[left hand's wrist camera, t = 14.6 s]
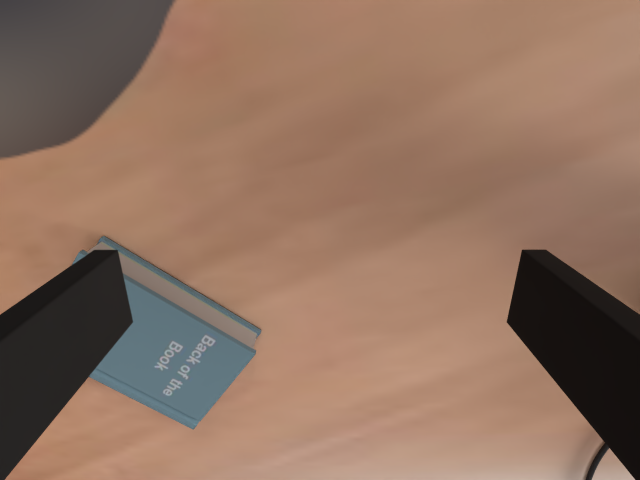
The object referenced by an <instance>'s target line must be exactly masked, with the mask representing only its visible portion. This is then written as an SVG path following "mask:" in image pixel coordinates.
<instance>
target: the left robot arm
mask: <svg viewBox="0 0 640 480" xmlns="http://www.w3.org/2000/svg"><path fill="white" fill-rule="evenodd" d="M132 323H133V319H132V314H131V309H130V305H129V300H128V295H127V291H126V286H125V281H124V276H123V272H122V267H121V262H120V258H119V253H118V250H93V251H92V252H90V253H89V254H87V255H86V256H85V257H83V258H82V259H80V260H79V261H77V262H76V263H74V264H73V265H72V266H70V267H69V268H67V269H66V270H64V271H63V272H61V273H60V274H59V275H57V276H56V277H54V278H53V279H51V280H50V281H48V282H47V283H46V284H44V285H43V286H41V287H40V288H38V289H37V290H35V291H34V292H33V293H31V294H30V295H28V296H27V297H25V298H24V299H22V300H21V301H20V302H18V303H17V304H15V305H14V306H12V307H11V308H9V309H8V310H7V311H5V312H4V313H2V314H1V315H0V480H5V478H6V477H7V476H8V475H9V474H10V472H11V471H12V470H13V469H14V467H15V466H16V465H17V464H18V463H19V461H20V460H21V459H22V458H23V456H24V455H25V454H26V453H27V452H28V450H29V449H30V448H31V447H32V445H33V444H34V443H35V442H36V441H37V439H38V438H39V437H40V436H41V434H42V433H43V432H44V431H45V429H46V428H47V427H48V426H49V425H50V423H51V422H52V421H53V420H54V418H55V417H56V416H57V415H58V414H59V412H60V411H61V410H62V409H63V407H64V406H65V405H66V404H67V403H68V401H69V400H70V399H71V398H72V396H73V395H74V394H75V393H76V392H77V390H78V389H79V388H80V387H81V385H82V384H83V383H84V382H85V381H86V379H87V378H88V377H89V376H90V374H91V373H92V372H93V371H94V370H95V368H96V367H97V366H98V365H99V363H100V362H101V361H102V360H103V358H104V357H105V356H106V355H107V354H108V352H109V351H110V350H111V349H112V347H113V346H114V345H115V344H116V343H117V341H118V340H119V339H120V338H121V336H122V335H123V334H124V333H125V332H126V330H127V329H128V328H129V327H130V325H131V324H132ZM507 323H508V324H509V325H510V327H511V328H512V329H513V330H514V332H515V333H516V334H517V335H518V336H519V338H520V339H521V340H522V341H523V343H524V344H525V345H526V346H527V347H528V349H529V350H530V351H531V352H532V354H533V355H534V356H535V357H536V358H537V360H538V361H539V362H540V363H541V365H542V366H543V367H544V368H545V370H546V371H547V372H548V373H549V374H550V376H551V377H552V378H553V379H554V381H555V382H556V383H557V384H558V385H559V387H560V388H561V389H562V390H563V392H564V393H565V394H566V395H567V396H568V398H569V399H570V400H571V401H572V403H573V404H574V405H575V406H576V407H577V409H578V410H579V411H580V412H581V414H582V415H583V416H584V417H585V418H586V420H587V421H588V422H589V423H590V425H591V426H592V427H593V428H594V429H595V431H596V432H597V433H598V434H599V436H600V437H601V438H602V439H603V441H604V442H605V444H604V445H603V446H602V448H601V449H600V451H599V452H598V454H597V455H596V457H595V458H594V460H593V462H592V464H591V466H590V469H589V471H588V474H587V477H586V480H592V477H593V475H594V472H595V470H596V468H597V466H598V464H599V462H600V460H601V459H602V457H603V456H604V454H605V453H606V452H607V450H608V449H609V448H610V449H611V450H612V452H613V453H614V454H615V455H616V456H617V458H618V459H619V460H620V461H621V463H622V464H623V465H624V466H625V467H626V469H627V470H628V471H629V472H630V474H631V475H632V476H633V477H634V478H635V480H640V315H639V314H638V313H636V312H635V311H633V310H632V309H631V308H629V307H628V306H626V305H625V304H623V303H622V302H620V301H619V300H618V299H616V298H615V297H613V296H612V295H610V294H609V293H607V292H606V291H605V290H603V289H602V288H600V287H599V286H597V285H596V284H594V283H593V282H592V281H590V280H589V279H587V278H586V277H584V276H583V275H581V274H580V273H579V272H577V271H576V270H574V269H573V268H571V267H570V266H568V265H567V264H566V263H564V262H563V261H561V260H560V259H558V258H557V257H555V256H554V255H553V254H551V253H550V252H548V251H547V250H522V253H521V257H520V262H519V267H518V272H517V276H516V281H515V286H514V291H513V295H512V300H511V305H510V309H509V314H508V319H507Z"/></svg>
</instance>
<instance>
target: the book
mask: <svg viewBox="0 0 640 480" xmlns="http://www.w3.org/2000/svg"><path fill="white" fill-rule="evenodd" d="M93 250H118V253H119V258H120V262H121V267H122V272H123V276H124V281H125V286H126V291H127V295H128V300H129V305H130V309H131V314H132V319H133V323H132V324H131V325H130V327H129V328H128V329H127V330H126V332H125V333H124V334H123V335H122V336H121V338H120V339H119V340H118V341H117V343H116V344H115V345H114V346H113V347H112V349H111V350H110V351H109V352H108V354H107V355H106V356H105V357H104V358H103V360H102V361H101V362H100V363H99V365H98V366H97V367H96V368H95V370H94V371H93V372H92V373H91V374H90V376H89V377H91V378H93V379H94V380H96V381H98V382H100V383H102V384H104V385H106V386H108V387H110V388H112V389H114V390H116V391H118V392H120V393H122V394H124V395H126V396H128V397H130V398H132V399H134V400H136V401H138V402H140V403H142V404H144V405H146V406H148V407H150V408H152V409H154V410H156V411H158V412H160V413H162V414H164V415H166V416H168V417H170V418H171V419H173V420H175V421H177V422H179V423H181V424H183V425H185V426H187V427H189V428H191V429H194V428H195V427H196V426H197V424H198V422H199V421H201V420H202V418H203V417H204V416H205V415H206V414H207V412H208V411H209V410H210V409H211V408H212V406H213V405H214V404H215V403H216V401H217V400H218V399H219V398H220V397H221V395H222V394H223V393H224V392H225V391H226V389H227V388H228V387H229V386H230V384H231V383H232V382H233V381H234V380H235V378H236V377H237V376H238V375H239V374H240V372H241V371H242V370H243V369H244V367H245V366H246V365H247V364H248V363H249V361H250V360H251V359H252V358H253V357H254V355H255V353H256V350H254V349H253V348H254V344H255V340H256V338H257V337H258V336H259V335H260V333H261V330H260V329H259V328H257V327H255V326H254V325H252V324H250V323H248V322H247V321H245V320H243V319H242V318H240V317H238V316H237V315H235V314H233V313H232V312H230V311H228V310H227V309H225V308H223V307H222V306H220V305H218V304H217V303H215V302H213V301H212V300H210V299H208V298H207V297H205V296H203V295H202V294H200V293H198V292H197V291H195V290H193V289H192V288H190V287H188V286H187V285H185V284H183V283H182V282H180V281H178V280H177V279H175V278H173V277H172V276H170V275H168V274H167V273H165V272H163V271H162V270H160V269H158V268H157V267H155V266H153V265H152V264H150V263H148V262H147V261H145V260H143V259H142V258H140V257H138V256H136V255H135V254H133V253H131V252H130V251H128V250H126V249H125V248H123V247H121V246H120V245H118V244H116V243H115V242H113V241H111V240H110V239H108V238H106V237H105V236H103V237H101V238H100V240H99V242H98V243H97V245H96V246H95V247H93V248H92V249H90V250H89V251H87V252H86V251H84V250H82V251H80V252H79V253H78V255H77V257H76V259H75V260H74V262H73V264H74V263H76V262H77V261H79V260H80V259H82V258H83V257H85V256H86V255H87V254H89V253H90V252H92V251H93ZM73 264H72V265H73Z"/></svg>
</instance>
